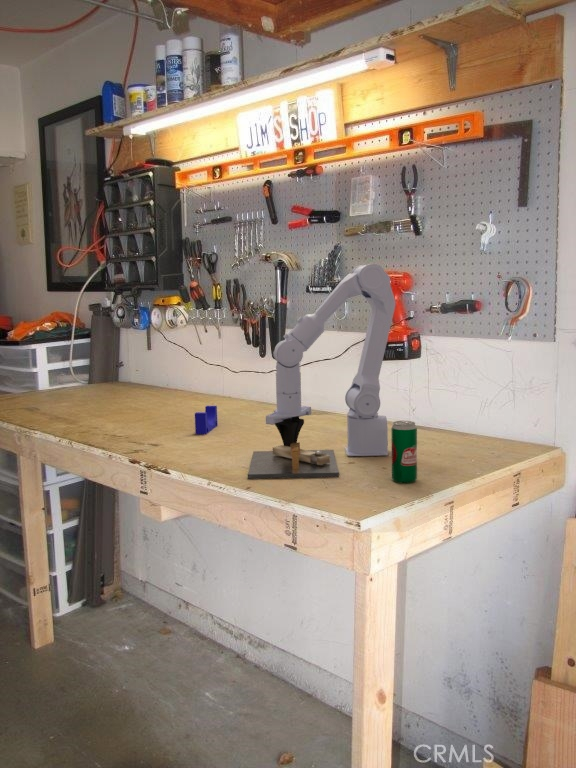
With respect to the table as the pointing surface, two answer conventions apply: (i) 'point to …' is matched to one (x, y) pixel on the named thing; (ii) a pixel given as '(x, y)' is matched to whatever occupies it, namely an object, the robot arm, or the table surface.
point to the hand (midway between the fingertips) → (289, 449)
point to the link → (302, 455)
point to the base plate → (290, 465)
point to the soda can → (404, 451)
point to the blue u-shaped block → (206, 420)
